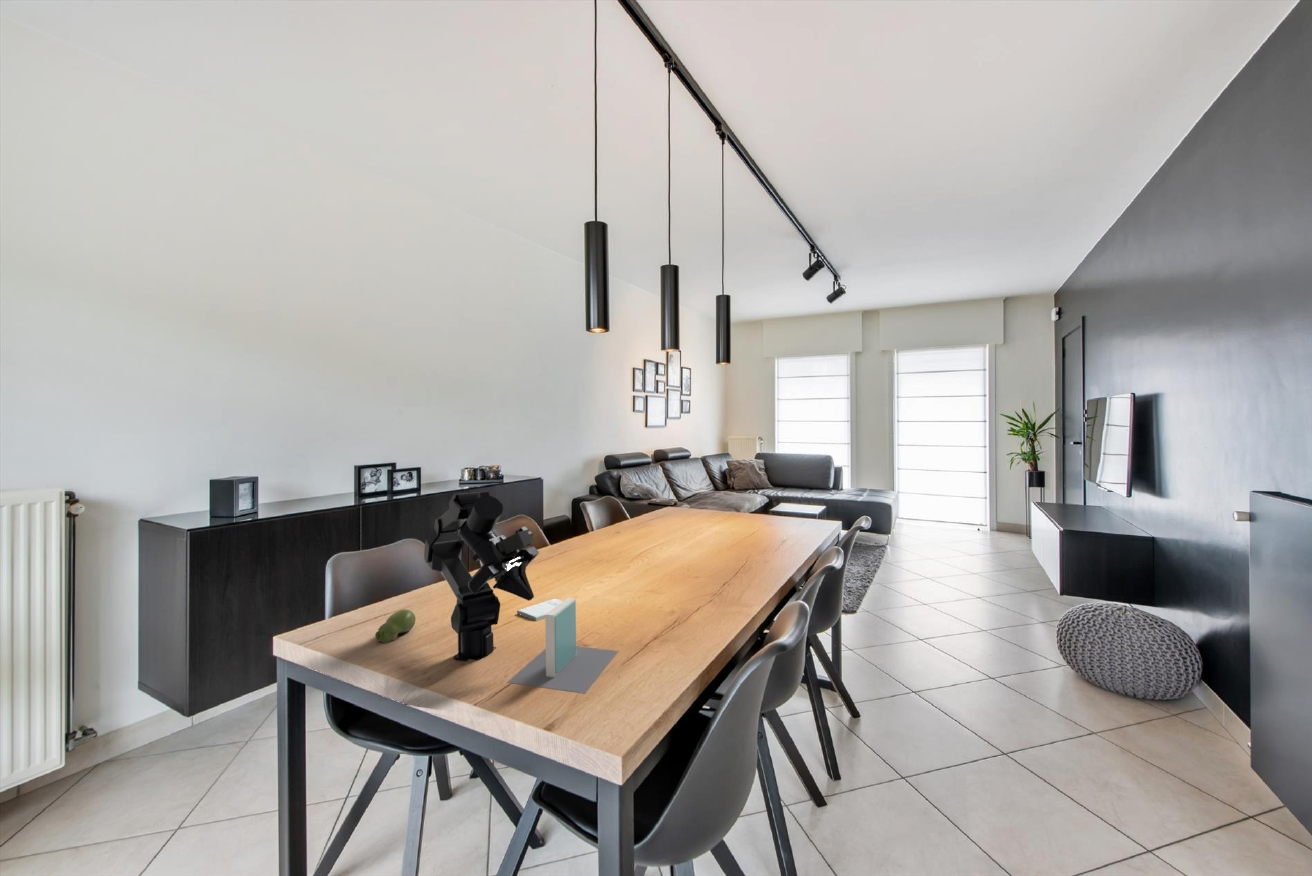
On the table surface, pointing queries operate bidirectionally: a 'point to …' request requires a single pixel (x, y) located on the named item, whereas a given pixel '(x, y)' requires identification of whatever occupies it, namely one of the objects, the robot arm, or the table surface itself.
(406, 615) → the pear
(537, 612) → the external hard drive
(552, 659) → the tile
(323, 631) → the table surface
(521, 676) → the mat
